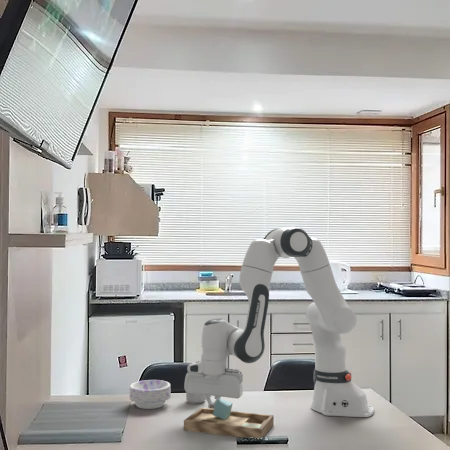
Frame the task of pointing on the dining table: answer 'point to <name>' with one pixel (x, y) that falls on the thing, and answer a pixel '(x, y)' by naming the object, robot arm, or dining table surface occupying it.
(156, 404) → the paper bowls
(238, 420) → the wooden tray
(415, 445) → the dining table surface
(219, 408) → the block
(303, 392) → the dining table surface
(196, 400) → the can
